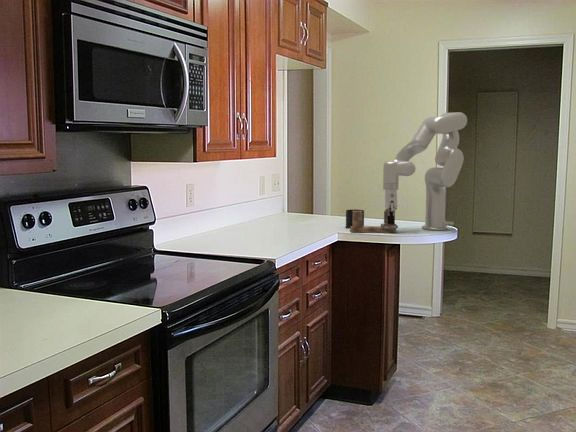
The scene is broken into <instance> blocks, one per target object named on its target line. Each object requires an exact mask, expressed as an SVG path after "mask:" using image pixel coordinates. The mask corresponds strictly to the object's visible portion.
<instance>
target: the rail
mask: <svg viewBox="0 0 576 432" xmlns="http://www.w3.org/2000/svg"><path fill="white" fill-rule="evenodd" d="M397 229H399V225H397V224H396V223H395V226H386V225H385V223H380V226H379V225H378V226H377V225H376V226H374V225H373V226H369V225H364V226H363V213H362V211H353V222H352V226H350V229H349V230H350V231H349V232H350V233H351V234H381V233H382V234H397Z"/></svg>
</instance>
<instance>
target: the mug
mask: <svg viewBox="0 0 576 432" xmlns="http://www.w3.org/2000/svg"><path fill="white" fill-rule="evenodd" d="M353 211H362V213H363V226H365V210H364V209H355V208H354V209H346V211H345V227H346V228H347V229H349V228H350V226H352V222H353Z"/></svg>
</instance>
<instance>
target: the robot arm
mask: <svg viewBox="0 0 576 432" xmlns="http://www.w3.org/2000/svg"><path fill="white" fill-rule="evenodd" d="M467 123H468V117H467V116H466V114H465V113H463V112H459V111H458V112H456V111H455V112H444V113H442V114H441V115H440V116H428V117H427V118H425V119H424V120H423V121H422V123H421V125H420V126H419V127H418V129H417V131H416V133H415V134H414V135H413V137H412V139H411V140H410V141H409V142H407V144H405V145H404V146H403V147H402V148H401V149H400V150H399V151H398V152H397V154H396V155H395V157H394V158H393V160H392V161H384V163H383V170H382V172H383V174H382V190H384V207H385V208H384V209H388V220H387V223H388V224H394V210H395V211H397V210H398V192H397V191H398V190H399V179H400V176H402V177H410V176H412V175H414V174H415V172H416V169H417V168H416V165H415V164H414V162H412V161H410V160H411V159H413V157H414V156H416V155H418V154H420V153H422V152H424V151H425V150H427V148H428V147H429V145H430V144H431V142H432V141H433V139H434V138H435V136H436V135H442V139H441V142H440V144H439V147H438V148H437V151H436V154H435V158H434V162H435V164H437V165H438V166H440V167H438V166H436V167H435V166H434V167H430V168H428V169H427V170H426V172H425V174H424V183H425V184H424V185H425V217H424V221H425V223H424V225H422V226H421V229H422V230H427V231H446V230H448V226H450V227H451V226H454V224H455V223H454V221H447V220H445V215H446V214H445V213H446V212H445V209H446V192H445V188H450V187H452V186H453V185H454V184H455V182H456V181H457V179H458V177H459V174H460V172H461V169H462V166H463V164H464V159H465V158H464V153H463V152H462V150H461V149H459V148H458V146H459V144H460V133H459V131H460V130H463V129H464V128H465V127H466V126H467Z"/></svg>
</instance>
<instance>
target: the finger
mask: <svg viewBox="0 0 576 432" xmlns="http://www.w3.org/2000/svg"><path fill="white" fill-rule="evenodd" d="M387 220H388V209H386V208H384V212H383V224H385V225H386V226H395V224H396V222H395V221H396V210H395V209H394V224H388V223H387Z"/></svg>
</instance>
